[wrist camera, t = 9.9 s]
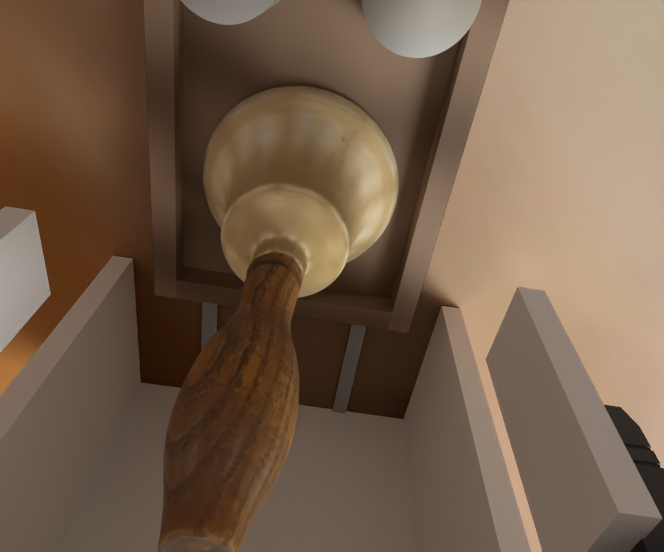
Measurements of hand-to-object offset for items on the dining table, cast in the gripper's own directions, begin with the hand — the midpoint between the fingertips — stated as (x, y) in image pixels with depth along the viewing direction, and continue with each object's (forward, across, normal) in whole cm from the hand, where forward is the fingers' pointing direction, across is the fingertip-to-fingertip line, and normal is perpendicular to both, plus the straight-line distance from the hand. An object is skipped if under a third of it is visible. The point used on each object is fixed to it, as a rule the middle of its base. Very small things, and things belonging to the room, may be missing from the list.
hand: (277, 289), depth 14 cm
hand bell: (+9, 0, -1) cm, 9 cm away
